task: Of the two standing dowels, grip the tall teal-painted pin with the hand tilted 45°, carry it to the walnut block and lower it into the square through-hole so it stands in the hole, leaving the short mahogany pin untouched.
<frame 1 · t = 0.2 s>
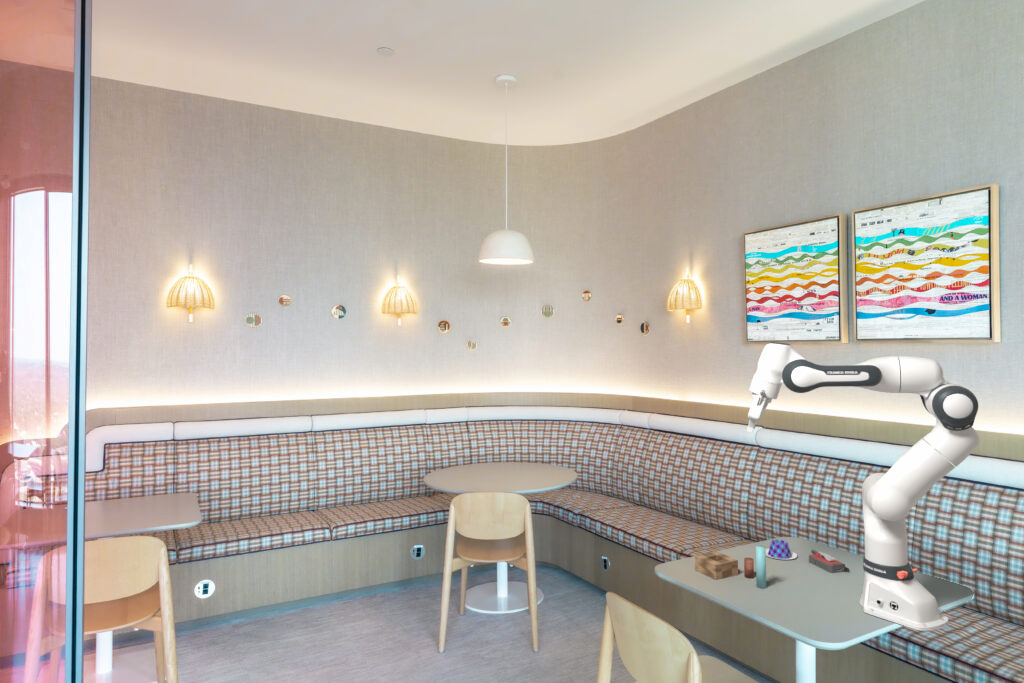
hand: (750, 429, 199), 52 cm above the table, tool tilted 20°, fingers open, 8 cm apart
long pin: (761, 586, 200), on the table
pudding: (779, 556, 229), on the table
hole block: (716, 572, 213), on the table
short pin: (749, 576, 208), on the table
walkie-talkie: (823, 564, 220), on the table
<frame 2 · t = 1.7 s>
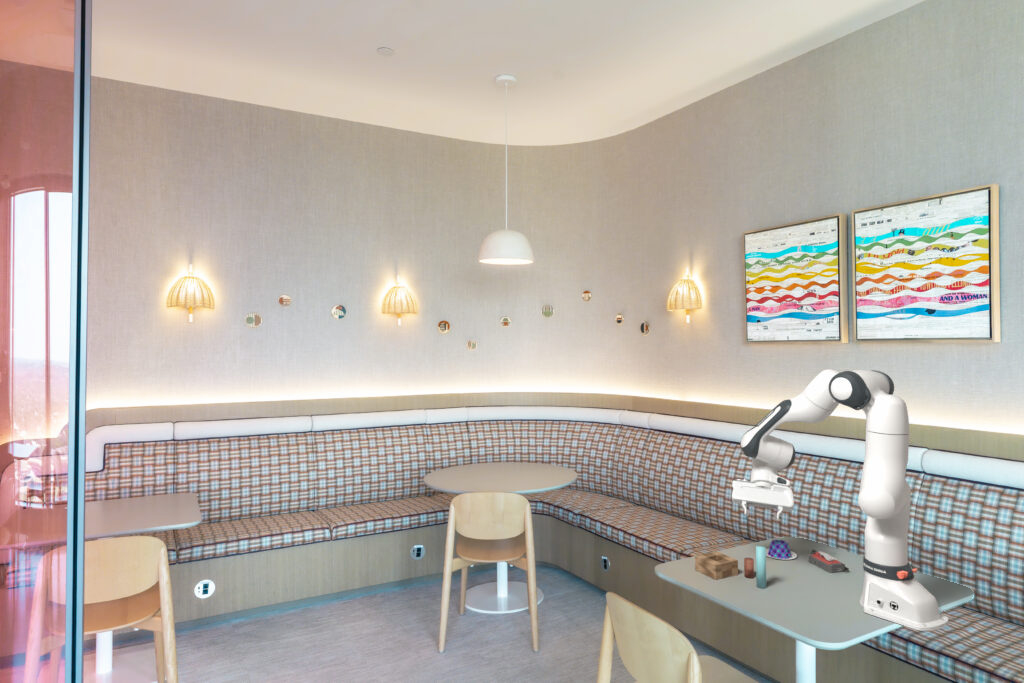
hand: (761, 517, 210), 20 cm above the table, tool tilted 45°, fingers open, 8 cm apart
nothing on the table moved.
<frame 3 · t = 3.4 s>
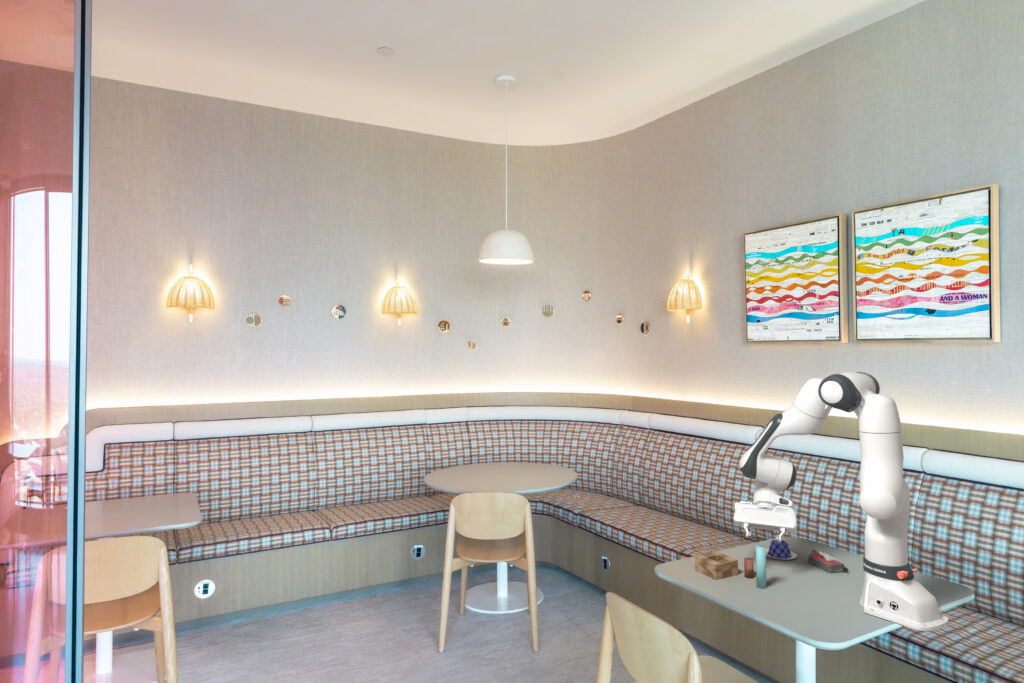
hand: (763, 539, 206), 13 cm above the table, tool tilted 45°, fingers open, 8 cm apart
nothing on the table moved.
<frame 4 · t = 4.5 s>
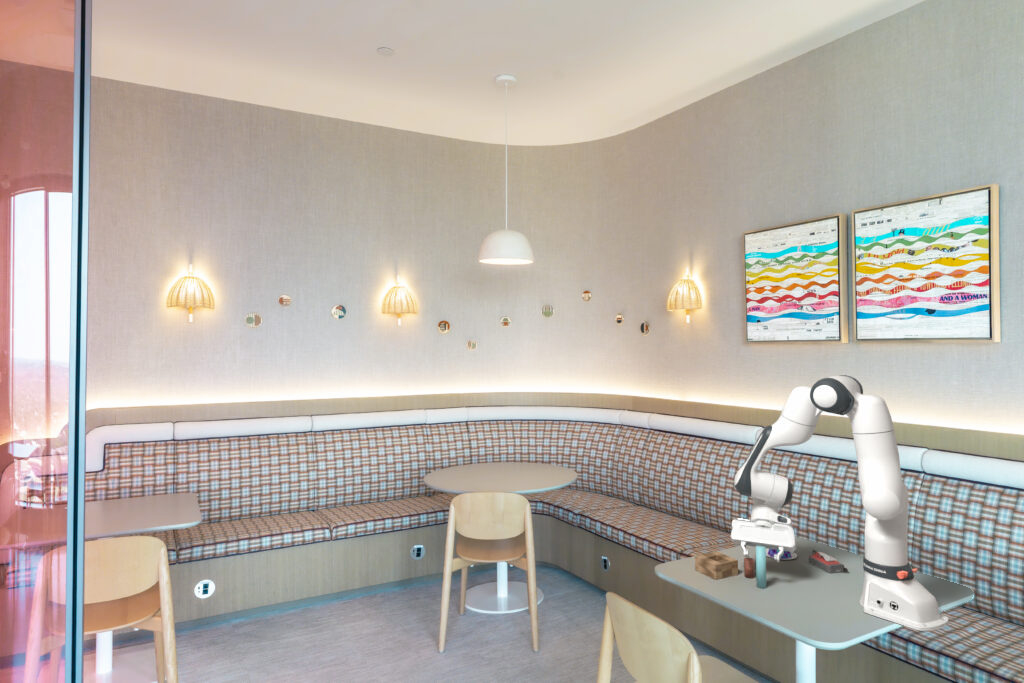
hand: (761, 558, 201), 9 cm above the table, tool tilted 45°, fingers open, 8 cm apart
nothing on the table moved.
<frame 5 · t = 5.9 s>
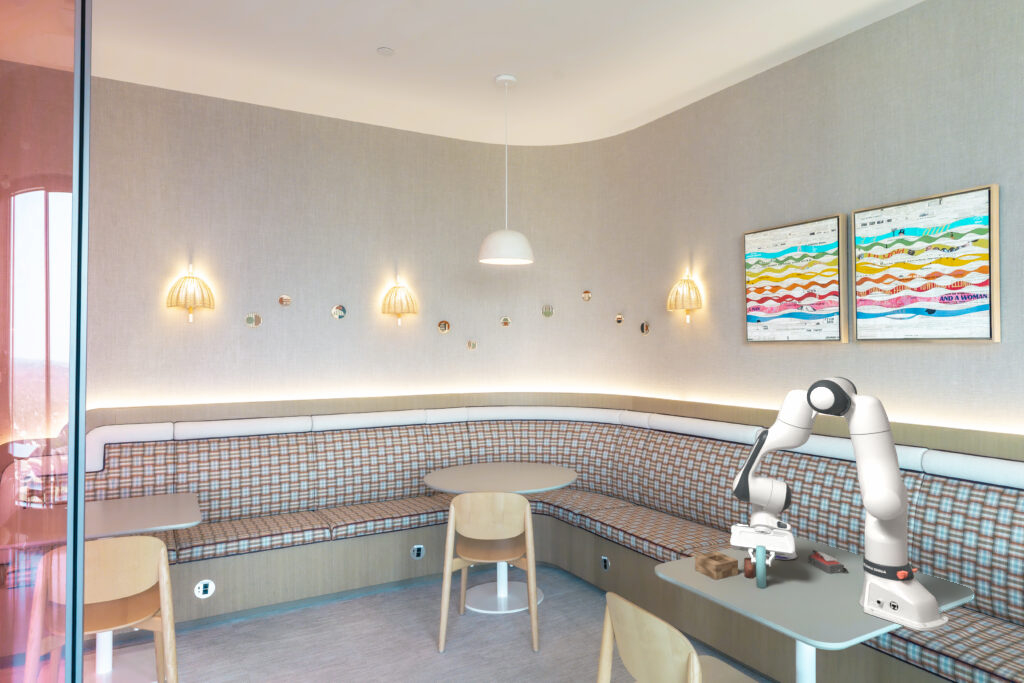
hand: (760, 564, 199), 7 cm above the table, tool tilted 45°, fingers closed on long pin, 3 cm apart
long pin: (761, 586, 200), on the table, touching gripper
everything else where it was.
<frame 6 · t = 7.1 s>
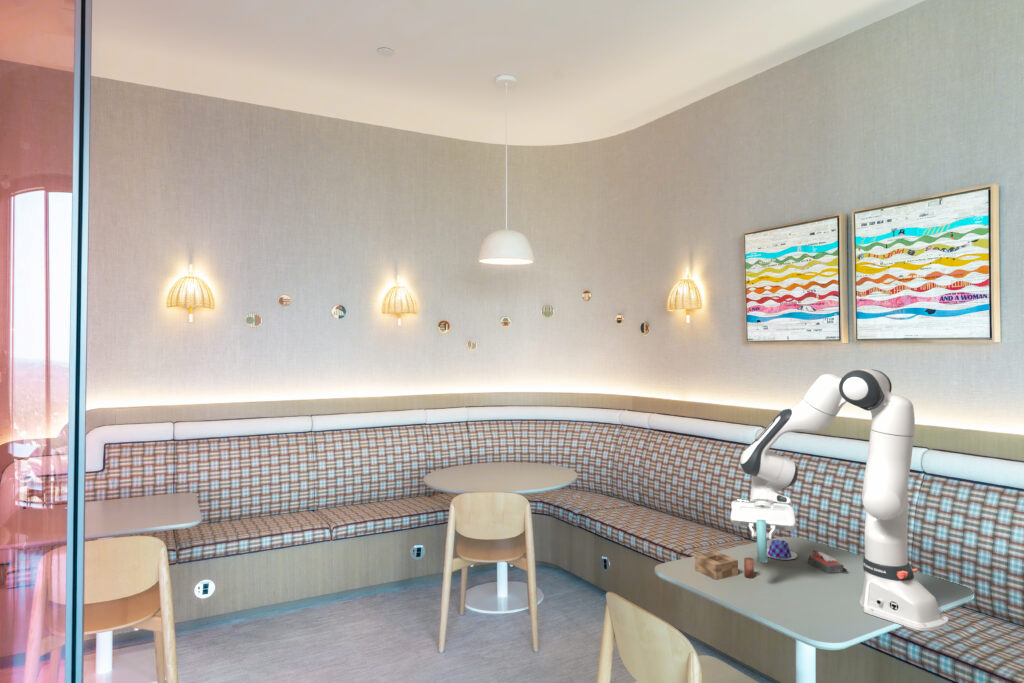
hand: (761, 538, 199), 16 cm above the table, tool tilted 45°, fingers closed on long pin, 3 cm apart
long pin: (762, 560, 199), point 9 cm above the table, touching gripper
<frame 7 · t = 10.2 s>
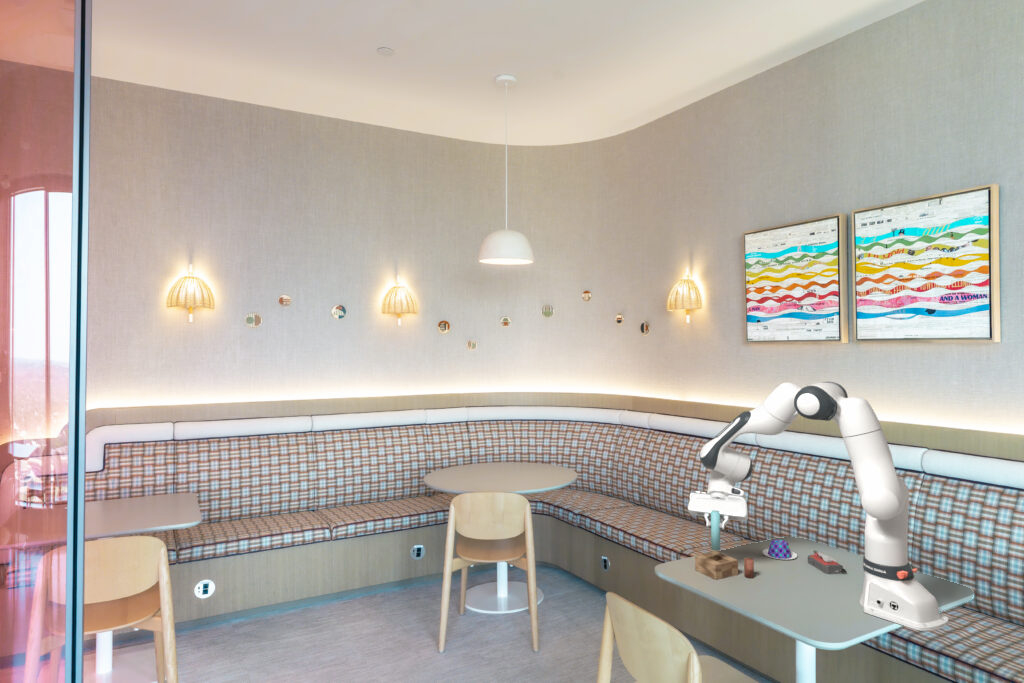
hand: (715, 528, 212), 16 cm above the table, tool tilted 45°, fingers closed on long pin, 3 cm apart
long pin: (715, 549, 213), point 8 cm above the table, touching gripper
when the fingers open (10 cm above the table, at t = 11.7 s): long pin drops 3 cm, resting in hole block.
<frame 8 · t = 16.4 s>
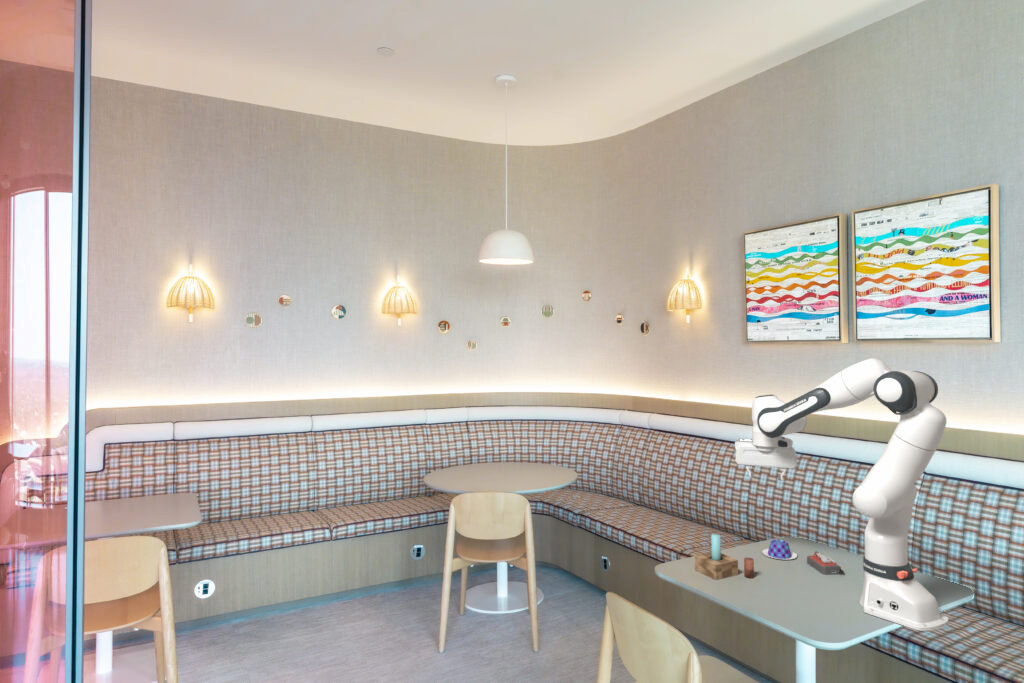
hand: (766, 478, 217), 31 cm above the table, tool pointing down, fingers open, 8 cm apart
long pin: (716, 572, 213), resting in hole block
at the end: long pin 0.0 cm off-centre on the hole block, point 0.0 cm above the hole block's base; long pin tilted 0°; the gripper is holding nothing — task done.
